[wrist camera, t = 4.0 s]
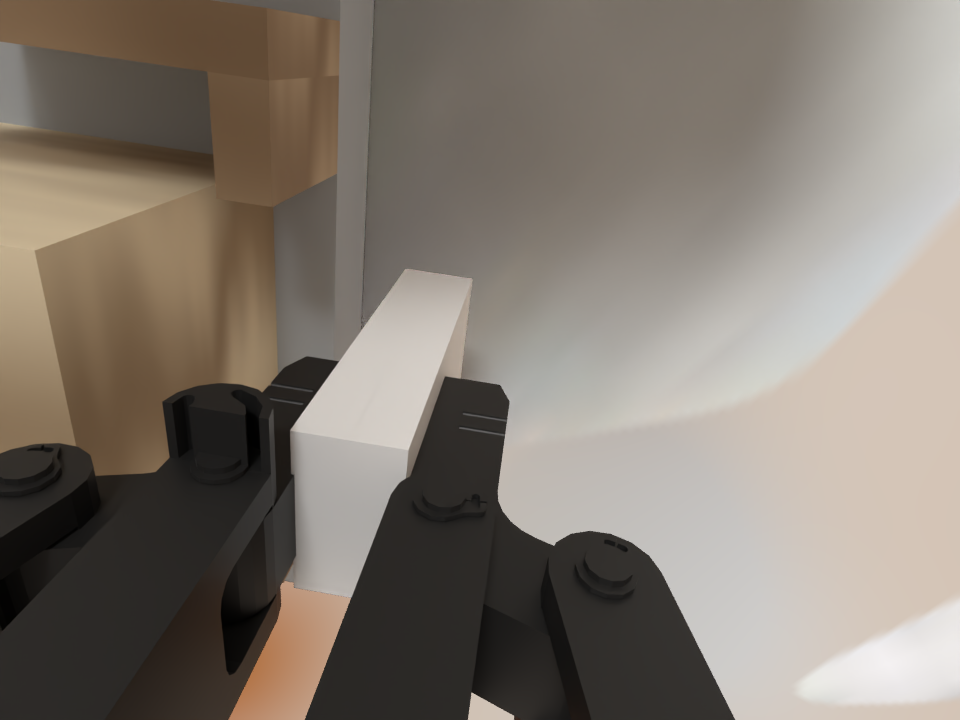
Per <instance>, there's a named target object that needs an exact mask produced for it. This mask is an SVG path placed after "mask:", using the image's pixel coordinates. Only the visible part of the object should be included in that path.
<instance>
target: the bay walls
mask: <svg viewBox="0 0 960 720" xmlns="http://www.w3.org/2000/svg"><path fill="white" fill-rule="evenodd" d="M0 42H7V43H13V44H20V45H27V46H34V47H41V48H48V49H55V50H62V51H68V52H75V53H82V54H89V55H96V56H103V57H110V58H117V59H123V60H130V61H137V62H144V63H151V64H158V65H165V66H172V67H178V68H185V69H192V70H199V71H206V72H207V74H208V88H209V102H210V116H211V131H212V145H213V159H214V173H215V188H216V199H223V200H229V201H236V202H242V203H249V204H255V205H261V206H268V207H274V206H276V205H278V204H279V203H281V202H283V201H285V200H287V199H289V198H291V197H293V196H295V195H297V194H299V193H301V192H302V191H304V190H306V189H308V188H310V187H312V186H314V185H316V184H318V183H320V182H322V181H324V180H325V179H327V178H329V177H331V176H333V175H335V174H337V159H338V105H339V52H340V21H337V20H331V19H326V18H320V17H314V16H309V15H303V14H298V13H292V12H286V11H281V10H275V9H269V8H263V7H256V6H249V5H242V4H235V3H227V2H220V1H213V0H0ZM292 565H293V563H292ZM292 565H291V566H290V568H289V570H288V572H287V574H286V576H285V578H284V580H283V582H284V581H285V579H286V577H287V575H288V573H289V571H290V569H291V567H292ZM283 582H282V583H283Z"/></svg>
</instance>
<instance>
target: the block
mask: <svg viewBox="0 0 960 720" xmlns="http://www.w3.org/2000/svg"><path fill="white" fill-rule="evenodd" d="M277 375H278V356H277V321H276V285H275V250H274V215H273V207H268V206H261V205H255V204H249V203H242V202H236V201H229V200H223V199H216V188H215V173H214V159H213V154H206V153H199V152H193V151H186V150H179V149H173V148H166V147H160V146H153V145H146V144H140V143H133V142H127V141H120V140H113V139H107V138H100V137H94V136H87V135H80V134H74V133H67V132H61V131H54V130H47V129H41V128H34V127H28V126H21V125H14V124H8V123H1V122H0V453H3V452H5V451H8V450H10V449H15V448H19V447H24V446H28V445H32V444H43V443H44V444H46V443H62V444H67V445H72V446H77V447H79V448H81V449H82V450H84V451H85V452H87V453H88V454H90V455H91V459H92V463H93V466H94V471H95V476H101V475H122V474H143V473H152V472H156V471H157V470H158V469H159V468H160V467H161V466H162V465H163V464H164V463H165V462H166V461H167V460H168V458H169V449H168V442H167V435H166V427H165V420H164V412H163V405H162V401H164V400H166V399H167V398H169V397H171V396H172V395H174V394H175V393H177V392H180V391H183V390H186V389H189V388H192V387H195V386H199V385H207V384H216V383H228V384H241V385H245V386H248V387H252V388H255V389H258V390H260V391H261V392H263V391H264V390H265V389H266V388H267V386H268V385H270V386H271V382H272V381H273V380H274V379H275V377H276V376H277Z"/></svg>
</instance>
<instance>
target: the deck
mask: <svg viewBox="0 0 960 720" xmlns="http://www.w3.org/2000/svg"><path fill="white" fill-rule="evenodd" d="M213 1H220V2H227V3H235V4H242V5H249V6H256V7H263V8H269V9H275V10H281V11H286V12H292V13H298V14H303V15H309V16H314V17H320V18H326V19H331V20H337V21H340V52H339V105H338V159H337V174H335V175H333V176H331V177H329V178H327V179H325V180H324V181H322V182H320V183H318V184H316V185H314V186H312V187H310V188H308V189H306V190H304V191H302V192H301V193H299V194H297V195H295V196H293V197H291V198H289V199H287V200H285V201H283V202H281V203H279V204H278V205H276V206H274V207H273V215H274V250H275V285H276V321H277V356H278V374H279V373H280V372H281V371H282V369H283V368H284V367H286V366H288V365H290V364H292V363H294V362H296V361H298V360H300V359H302V358H304V357H306V356H309V357H316V358H322V359H328V360H334V361H340V360H341V358H342V357H343V356H344V354H345V353H346V351H347V350H348V349H349V347H350V346H351V344H352V343H353V342H354V340H355V339H356V337H357V336H358V335H359V333H360V332H361V317H362V292H363V267H364V242H365V217H366V193H367V168H368V143H369V118H370V93H371V69H372V44H373V19H374V0H213ZM0 122H1V123H8V124H14V125H21V126H28V127H34V128H41V129H47V130H54V131H61V132H67V133H74V134H80V135H87V136H94V137H100V138H107V139H113V140H120V141H127V142H133V143H140V144H146V145H153V146H160V147H166V148H173V149H179V150H186V151H193V152H199V153H206V154H213V145H212V131H211V116H210V102H209V88H208V74H207V72H206V71H199V70H192V69H185V68H178V67H172V66H165V65H158V64H151V63H144V62H137V61H130V60H123V59H117V58H110V57H103V56H96V55H89V54H82V53H75V52H68V51H62V50H55V49H48V48H41V47H34V46H27V45H20V44H13V43H7V42H0ZM285 581H288V582H294V571H293V565H292V567H291V569H290V571H289V573H288V575H287V577H286V579H285Z"/></svg>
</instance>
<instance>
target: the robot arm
mask: <svg viewBox="0 0 960 720" xmlns="http://www.w3.org/2000/svg"><path fill="white" fill-rule="evenodd" d="M472 281H473V279H472V278H466V277H459V276H452V275H446V274H439V273H433V272H426V271H420V270H413V269H407V268H406V269H405V270H404V271H403V273H402V274H401V276H400V277H399V278H398V280H397V281H396V283H395V284H394V285H393V287H392V288H391V290H390V291H389V292H388V294H387V295H386V297H385V298H384V299H383V301H382V302H381V304H380V305H379V306H378V308H377V309H376V311H375V312H374V313H373V315H372V316H371V318H370V319H369V320H368V322H367V323H366V325H365V326H364V328H363V329H362V330H361V332H360V333H359V335H358V336H357V337H356V339H355V340H354V342H353V343H352V344H351V346H350V347H349V349H348V350H347V351H346V353H345V354H344V356H343V357H342V358H341V360H340V361H334V360H328V359H322V358H316V357H309V356H306V357H304V358H302V359H300V360H298V361H296V362H294V363H292V364H290V365H288V366H286V367H284V368H283V369H282V371H281V372H280V373H279V374H278V375H277V376H276V377H275V379H274V380H273V381H272V382H271V386H270V385H268V386H267V388H266V389H265V390H264V391H263V392H261V391H260V390H258V389H255V388H252V387H248V386H245V385H241V384H228V383H216V384H207V385H199V386H195V387H192V388H189V389H186V390H183V391H180V392H177V393H175V394H174V395H172V396H171V397H169V398H167V399H166V400H164V401H162V405H163V412H164V420H165V427H166V435H167V442H168V449H169V458H168V460H167V461H166V462H165V463H164V464H163V465H162V466H161V467H160V468H159V469H158V470H157V471H156V472H152V473H143V474H122V475H101V476H95V471H94V466H93V463H92V459H91V455H90V454H88V453H87V452H85V451H84V450H82V449H81V448H79V447H77V446H72V445H67V444H62V443H46V444H44V443H43V444H32V445H28V446H24V447H19V448H15V449H10V450H8V451H5V452H3V453H0V720H228V719H229V717H230V715H231V713H232V711H233V709H234V707H235V705H236V703H237V701H238V699H239V697H240V695H241V693H242V691H243V689H244V687H245V685H246V683H247V681H248V678H249V677H250V674H251V672H252V670H253V668H254V666H255V664H256V662H257V660H258V658H259V656H260V654H261V652H262V650H263V648H264V646H265V644H266V642H267V640H268V638H269V636H270V634H271V631H272V630H273V628H274V625H275V624H276V622H277V619H278V615H279V611H280V607H281V593H280V585H281V584H282V582H283V580H284V578H285V576H286V574H287V572H288V570H289V568H290V566H291V565H292V563H293V571H294V588H299V589H305V590H310V591H315V592H321V593H326V594H332V595H338V596H343V597H349V598H351V600H350V603H349V605H348V608H347V611H346V613H345V616H344V619H343V621H342V624H341V626H340V629H339V632H338V634H337V637H336V640H335V642H334V645H333V647H332V650H331V653H330V655H329V658H328V660H327V663H326V666H325V668H324V671H323V673H322V676H321V679H320V682H319V684H318V687H317V689H316V692H315V694H314V697H313V700H312V702H311V705H310V708H309V710H308V713H307V715H306V718H305V720H468V714H469V707H470V699H471V692H472V693H474V694H476V695H478V696H479V697H481V698H483V699H485V700H487V701H488V702H490V703H492V704H494V705H496V706H497V707H499V708H501V709H503V710H505V711H507V712H509V713H510V714H512V715H514V720H735V719H734V717H733V715H732V713H731V711H730V709H729V707H728V705H727V703H726V701H725V699H724V697H723V695H722V693H721V691H720V689H719V687H718V685H717V683H716V681H715V679H714V677H713V675H712V673H711V671H710V669H709V667H708V665H707V663H706V661H705V659H704V657H703V655H702V653H701V651H700V649H699V647H698V645H697V643H696V641H695V639H694V637H693V635H692V633H691V631H690V629H689V627H688V625H687V623H686V621H685V619H684V617H683V615H682V613H681V611H680V609H679V607H678V605H677V603H676V601H675V599H674V597H673V595H672V593H671V591H670V589H669V587H668V585H667V583H666V581H665V579H664V577H663V575H662V573H661V571H660V570H659V569H658V567H657V566H656V565H655V563H654V562H653V561H652V559H651V558H650V556H649V555H647V554H646V553H645V552H643V551H642V550H641V549H639V548H638V547H636V546H635V545H634V544H632V543H631V542H629V541H626V540H624V539H621V538H619V537H617V536H614V535H612V534H607V533H600V532H593V531H587V532H580V533H574V534H570V535H568V536H566V537H565V538H563V539H561V540H560V541H558V542H556V544H555V546H553V545H550V544H548V543H546V542H543V541H541V540H539V539H537V538H535V537H533V536H531V535H529V534H527V533H525V532H524V531H522V530H520V529H519V528H518V527H517V526H515V525H514V524H513V523H512V522H510V520H509V519H508V518H507V516H506V515H505V514H504V513H503V511H502V509H501V507H500V504H499V502H498V483H499V476H500V468H501V461H502V454H503V446H504V439H505V431H506V424H507V416H508V409H509V400H508V398H507V396H506V395H505V393H504V391H503V389H502V388H501V386H500V385H497V384H490V383H484V382H478V381H472V380H466V379H461V372H462V364H463V355H464V347H465V339H466V331H467V322H468V314H469V306H470V298H471V289H472Z"/></svg>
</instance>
